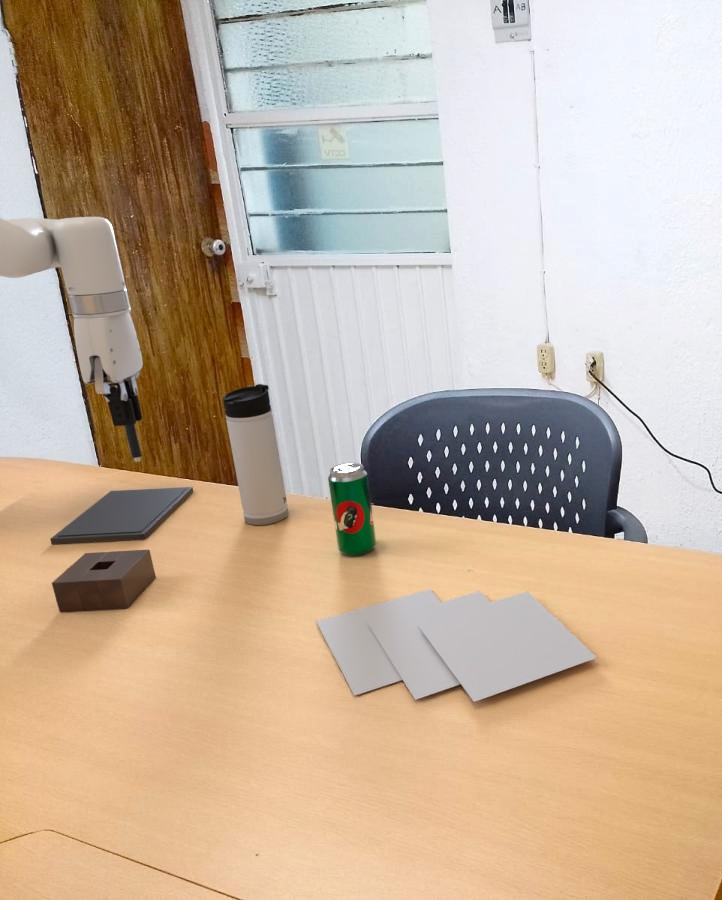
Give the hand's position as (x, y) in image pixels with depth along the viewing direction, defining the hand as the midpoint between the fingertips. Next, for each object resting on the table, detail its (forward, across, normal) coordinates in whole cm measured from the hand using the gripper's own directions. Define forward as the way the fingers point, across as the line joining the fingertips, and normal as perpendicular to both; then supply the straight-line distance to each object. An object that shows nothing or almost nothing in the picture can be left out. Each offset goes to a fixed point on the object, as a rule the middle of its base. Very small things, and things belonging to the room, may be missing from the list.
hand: (128, 422), depth 128 cm
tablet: (+13, +6, 0) cm, 15 cm away
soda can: (+14, +22, +38) cm, 46 cm away
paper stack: (+14, +47, +53) cm, 72 cm away
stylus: (+7, 0, 0) cm, 7 cm away
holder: (+13, +31, +9) cm, 35 cm away
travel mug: (+14, +9, +22) cm, 27 cm away
